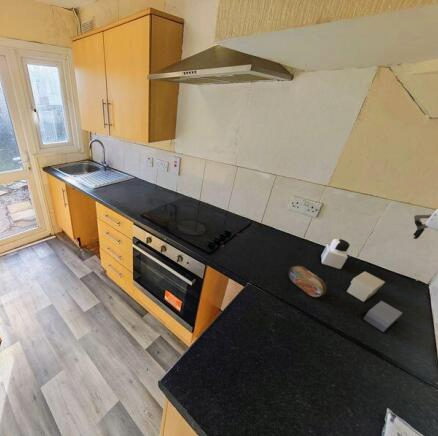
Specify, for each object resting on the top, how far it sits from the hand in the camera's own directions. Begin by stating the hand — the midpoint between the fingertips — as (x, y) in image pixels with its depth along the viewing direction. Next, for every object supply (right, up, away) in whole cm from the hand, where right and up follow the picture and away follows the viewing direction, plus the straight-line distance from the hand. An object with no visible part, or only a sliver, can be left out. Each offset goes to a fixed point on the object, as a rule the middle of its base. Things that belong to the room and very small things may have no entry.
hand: (433, 244), depth 84 cm
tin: (-39, -21, +15) cm, 46 cm away
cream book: (-15, -18, +11) cm, 26 cm away
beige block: (-15, -22, +13) cm, 30 cm away
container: (-14, -13, +30) cm, 36 cm away
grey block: (-19, -29, +1) cm, 34 cm away
